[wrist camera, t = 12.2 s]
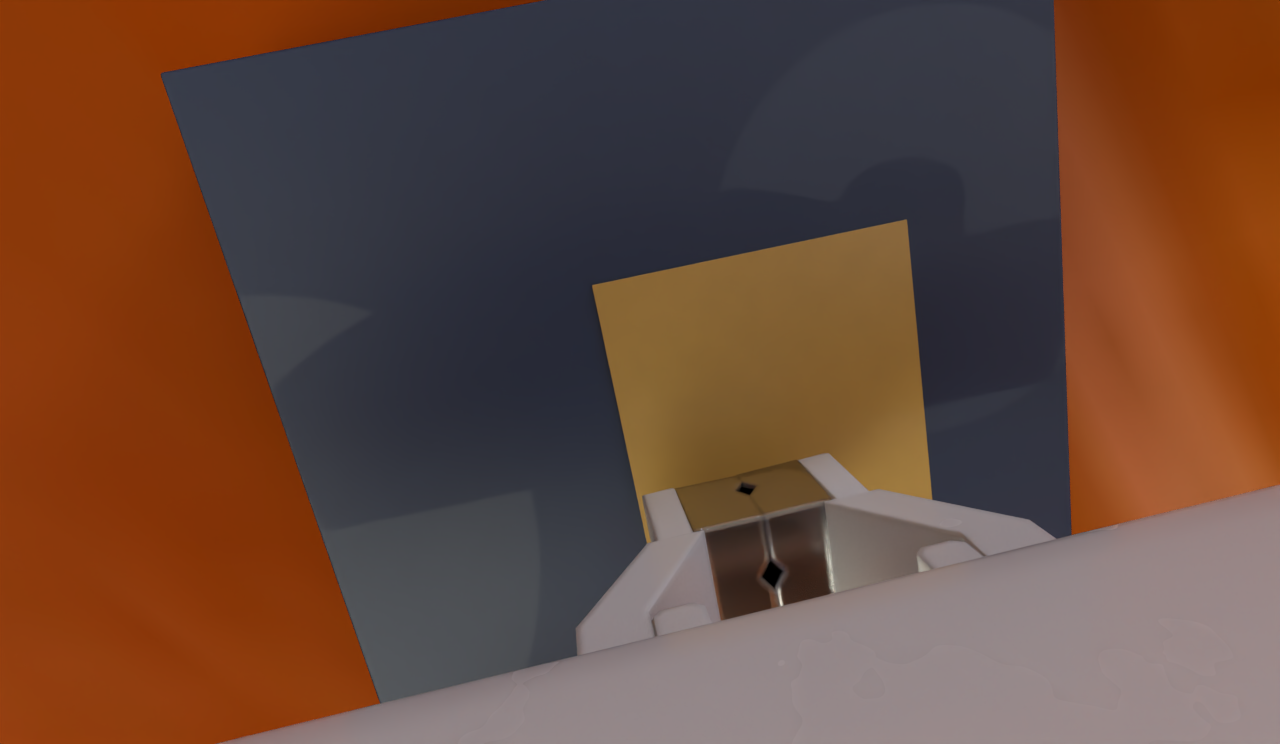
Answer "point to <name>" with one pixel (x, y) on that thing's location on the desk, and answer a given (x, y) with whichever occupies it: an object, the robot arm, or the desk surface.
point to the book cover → (634, 284)
